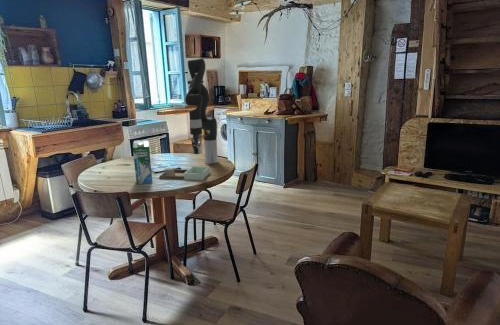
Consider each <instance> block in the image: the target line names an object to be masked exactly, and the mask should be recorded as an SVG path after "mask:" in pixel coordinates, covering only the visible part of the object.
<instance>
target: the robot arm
mask: <svg viewBox="0 0 500 325" xmlns="http://www.w3.org/2000/svg"><path fill="white" fill-rule="evenodd" d="M187 67H188V71H189V74H190V79H191V80H190V83H189V90H188V92H187V94H186V96H185V99H184V100H185V101H184V102H185V104H186V105H187V106H190V107H191V106H192V107H193V106H196V107H195V108H194V109H193V108H192V109H190V110H189V114H188V115H189V116H188V117H189V134H190V135H192V138H191V139H190V140H191V147H192V149H193V148H194V154H193V155H199V154H198V146H202V134H203V131H209V133H208V134H206V135H204V136H203V146H204V161H205V164H207V165H209V164H210V165H212V164H213V165H214V164H217V163H218V162H219V161H218V144H217V143H218V140H217V139H218V138H217V137H218V123H217V119H216V118H215V117H207V113H206V112H207V108H208V106H209V103H210V94H209V90H208V89H207V87H206V86H205V85H204V84H203V79H204V76H205V72H206V62H205V59H204V58H202V57H198V58H190V59H188V61H187Z"/></svg>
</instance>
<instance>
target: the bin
mask: <svg viewBox="0 0 500 325" xmlns="http://www.w3.org/2000/svg"><path fill="white" fill-rule="evenodd" d="M210 169H211V168H210V166H192V167H190V168H188V169H187V170H188V171H186V172H185V173H184V179H183V180H185V181H187V180H188V181H189V180H190V181H203V180H204V179H205V178H206V177H207V176H209V174H210V172H211V170H210Z"/></svg>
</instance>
